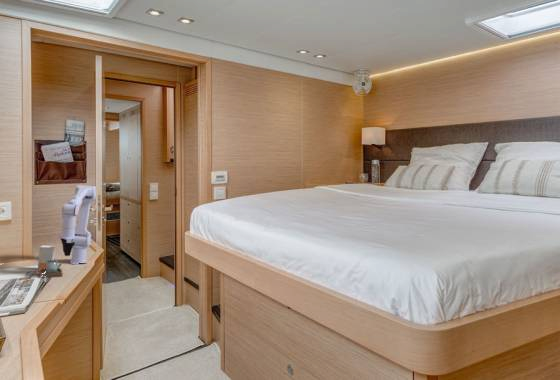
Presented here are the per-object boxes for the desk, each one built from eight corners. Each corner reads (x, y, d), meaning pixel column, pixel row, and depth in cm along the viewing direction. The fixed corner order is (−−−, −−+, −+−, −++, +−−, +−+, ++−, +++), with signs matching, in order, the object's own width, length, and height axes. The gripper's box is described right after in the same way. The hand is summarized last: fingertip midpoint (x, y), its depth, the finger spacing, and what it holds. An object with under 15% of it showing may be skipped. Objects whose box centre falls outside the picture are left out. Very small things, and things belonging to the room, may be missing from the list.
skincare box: (37, 270, 183) (39, 246, 183) (40, 267, 187) (42, 245, 187) (50, 270, 185) (52, 247, 184) (53, 268, 189) (55, 245, 188)
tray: (39, 272, 179) (39, 269, 179) (60, 271, 184) (60, 268, 184) (40, 277, 172) (40, 274, 172) (62, 276, 177) (62, 272, 177)
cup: (45, 272, 179) (46, 260, 178) (56, 271, 181) (57, 259, 181) (45, 274, 175) (46, 262, 175) (57, 274, 177) (58, 262, 177)
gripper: (58, 225, 186) (56, 251, 186) (60, 230, 174) (58, 257, 174) (74, 225, 190) (72, 250, 190) (77, 230, 178) (74, 257, 178)
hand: (66, 254), depth 182 cm, fingers open, 7 cm apart
